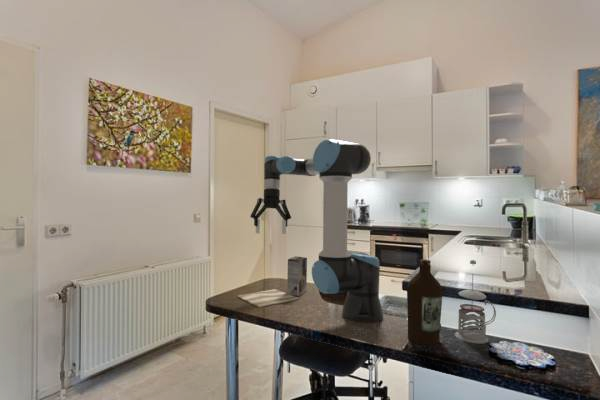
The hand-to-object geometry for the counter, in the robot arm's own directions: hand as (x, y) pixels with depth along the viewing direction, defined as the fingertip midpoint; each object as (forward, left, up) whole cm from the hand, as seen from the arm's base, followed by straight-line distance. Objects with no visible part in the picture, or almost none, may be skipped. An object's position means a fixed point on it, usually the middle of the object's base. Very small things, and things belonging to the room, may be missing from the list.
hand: (270, 233), depth 162 cm
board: (-10, +7, -27) cm, 30 cm away
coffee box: (-10, -9, -27) cm, 30 cm away
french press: (-84, -24, -27) cm, 91 cm away
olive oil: (-75, -9, -27) cm, 80 cm away
